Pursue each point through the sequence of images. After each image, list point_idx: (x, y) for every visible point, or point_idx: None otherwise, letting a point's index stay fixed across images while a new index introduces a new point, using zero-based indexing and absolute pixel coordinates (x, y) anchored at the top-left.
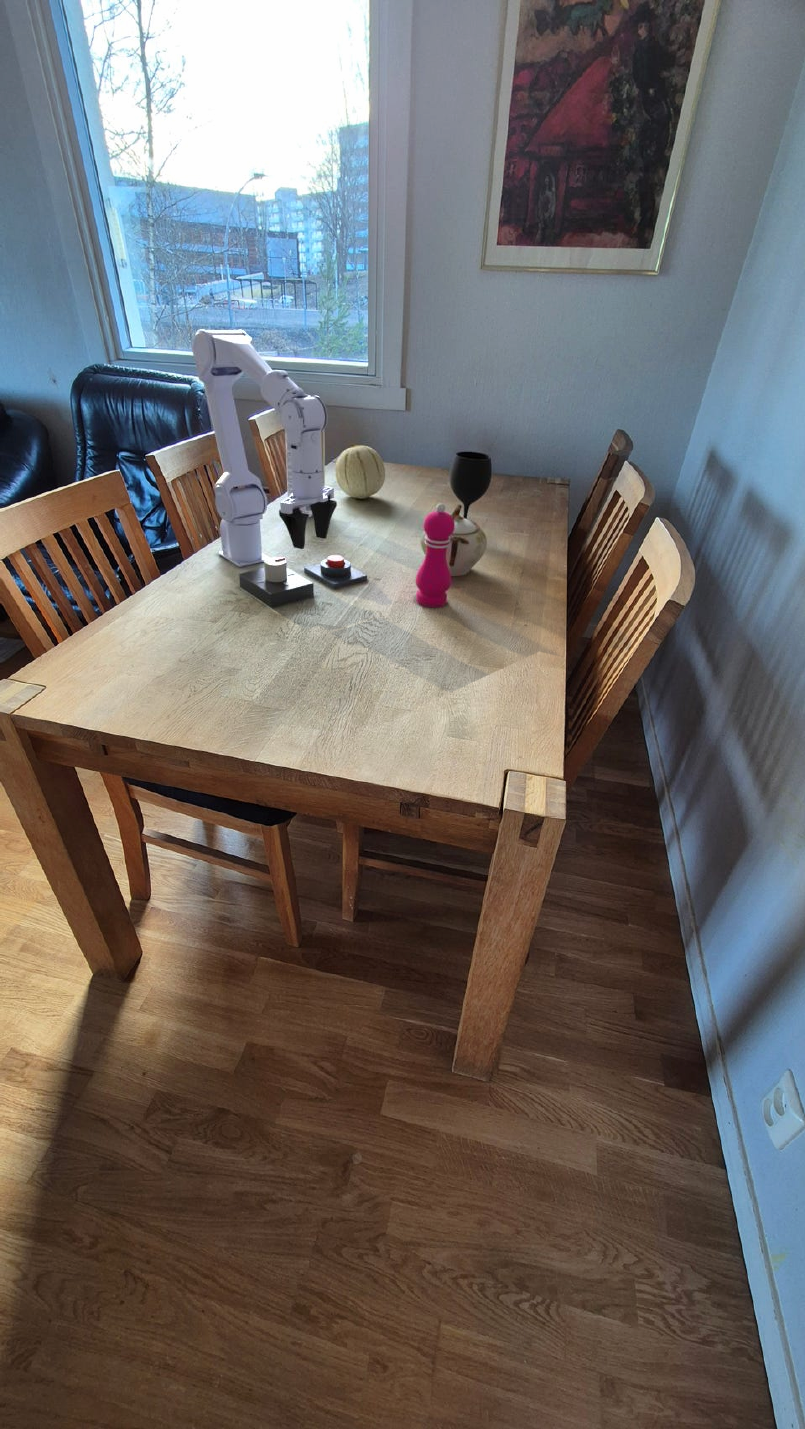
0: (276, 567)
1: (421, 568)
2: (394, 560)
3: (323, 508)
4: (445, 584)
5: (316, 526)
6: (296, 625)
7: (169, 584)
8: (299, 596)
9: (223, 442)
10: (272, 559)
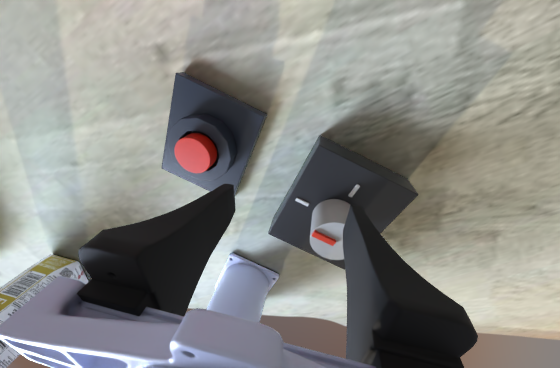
0: None
1: None
2: (61, 70)
3: (171, 267)
4: None
5: (219, 232)
6: (480, 97)
7: None
8: (351, 153)
9: None
10: (329, 248)
